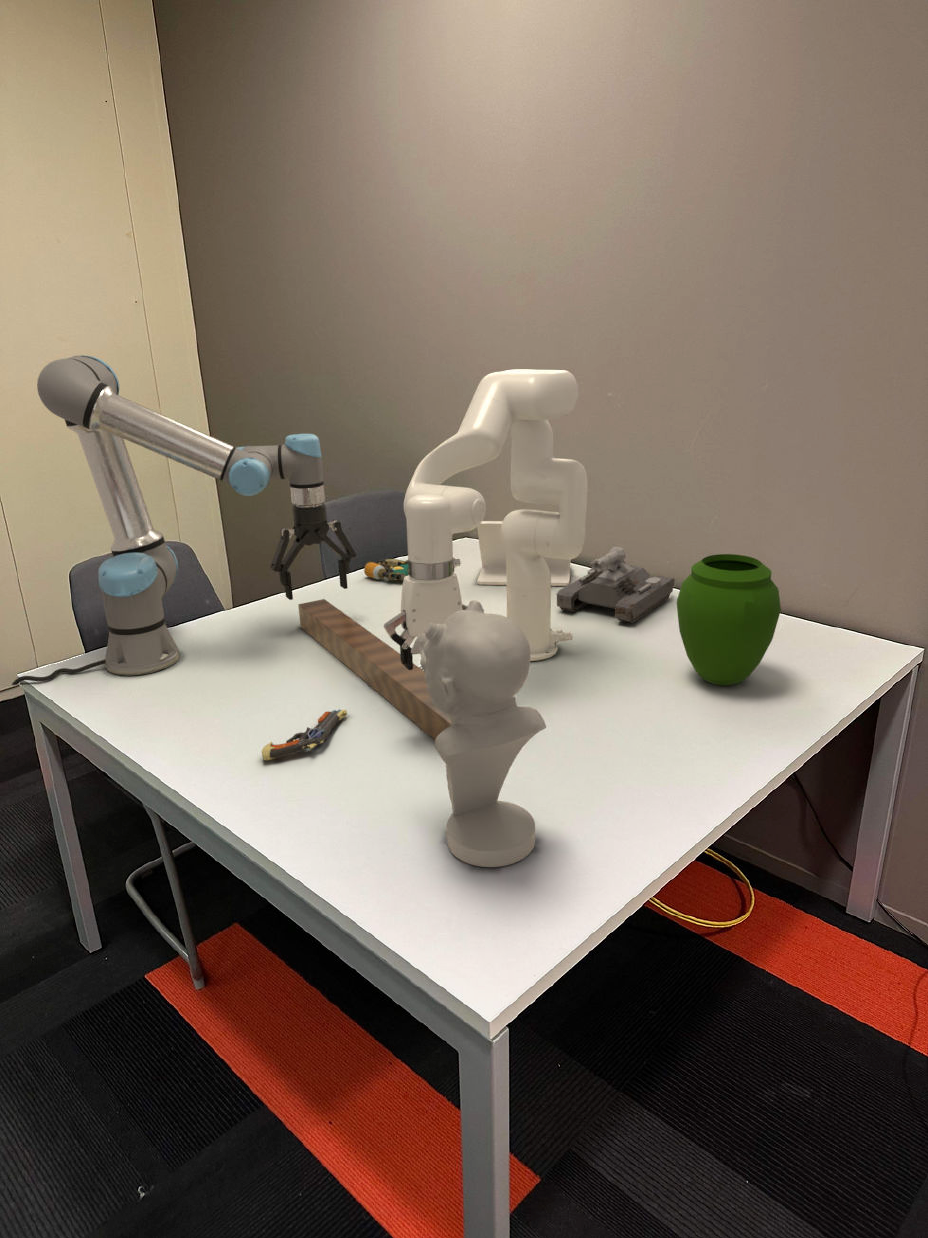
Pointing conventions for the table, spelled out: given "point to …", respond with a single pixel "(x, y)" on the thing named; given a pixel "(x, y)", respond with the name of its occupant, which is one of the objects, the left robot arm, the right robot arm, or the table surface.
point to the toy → (616, 588)
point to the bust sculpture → (481, 729)
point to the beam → (373, 663)
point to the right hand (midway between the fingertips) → (434, 662)
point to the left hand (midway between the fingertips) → (317, 592)
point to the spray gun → (387, 569)
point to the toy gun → (305, 737)
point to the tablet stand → (496, 560)
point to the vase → (727, 616)
